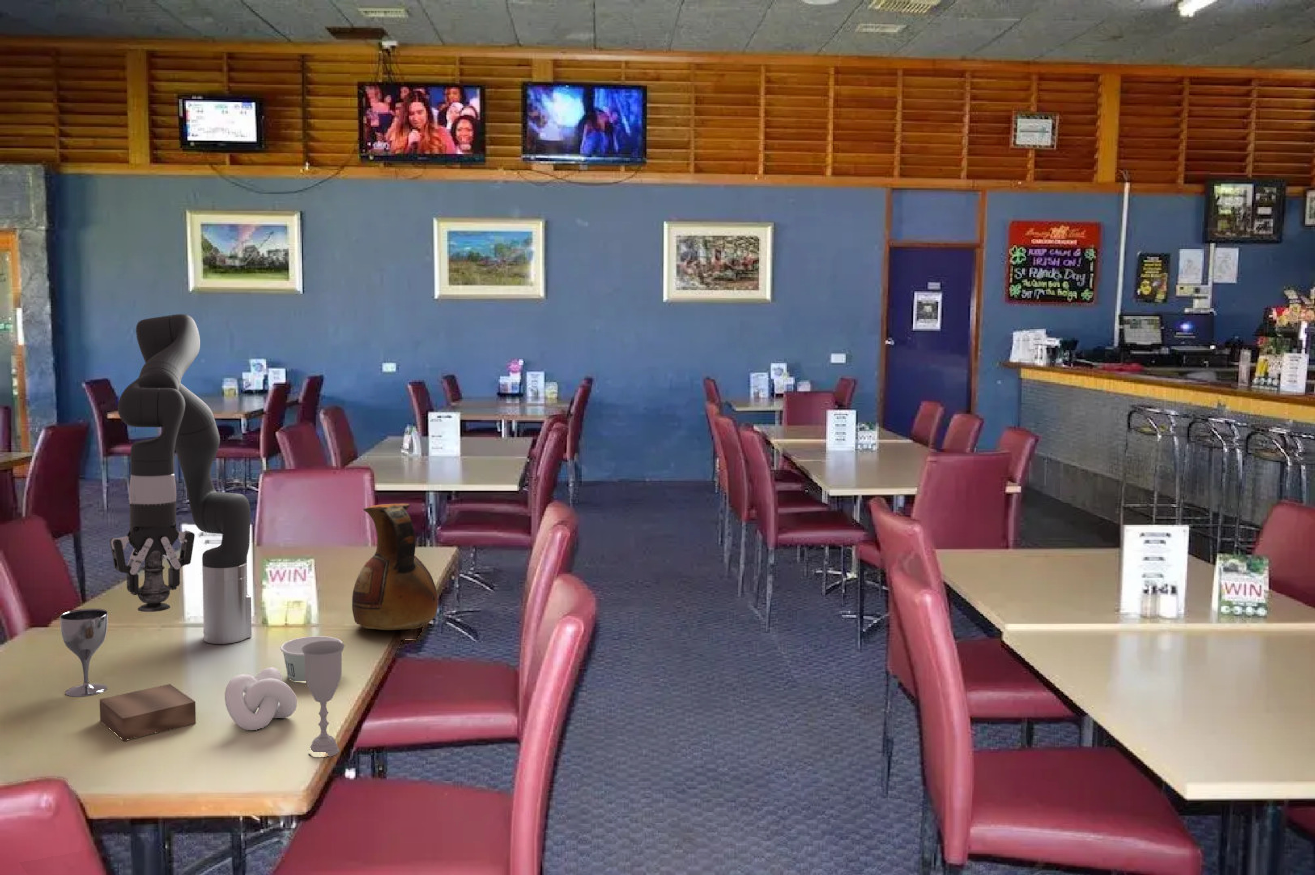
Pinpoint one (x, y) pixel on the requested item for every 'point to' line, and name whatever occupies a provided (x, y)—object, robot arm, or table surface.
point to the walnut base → (147, 711)
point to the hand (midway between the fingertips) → (153, 591)
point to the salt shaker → (154, 585)
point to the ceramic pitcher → (394, 576)
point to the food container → (299, 655)
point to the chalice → (323, 685)
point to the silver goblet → (84, 643)
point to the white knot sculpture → (259, 699)
